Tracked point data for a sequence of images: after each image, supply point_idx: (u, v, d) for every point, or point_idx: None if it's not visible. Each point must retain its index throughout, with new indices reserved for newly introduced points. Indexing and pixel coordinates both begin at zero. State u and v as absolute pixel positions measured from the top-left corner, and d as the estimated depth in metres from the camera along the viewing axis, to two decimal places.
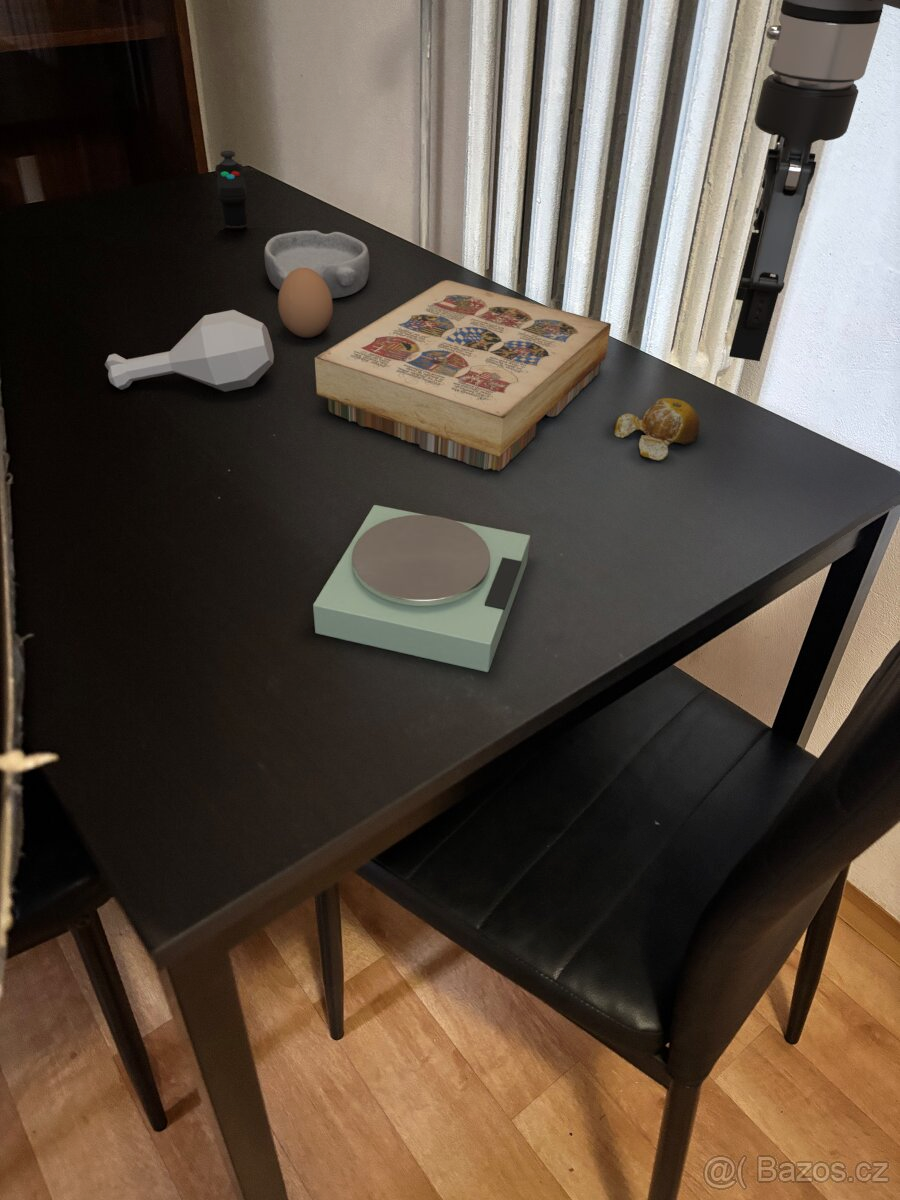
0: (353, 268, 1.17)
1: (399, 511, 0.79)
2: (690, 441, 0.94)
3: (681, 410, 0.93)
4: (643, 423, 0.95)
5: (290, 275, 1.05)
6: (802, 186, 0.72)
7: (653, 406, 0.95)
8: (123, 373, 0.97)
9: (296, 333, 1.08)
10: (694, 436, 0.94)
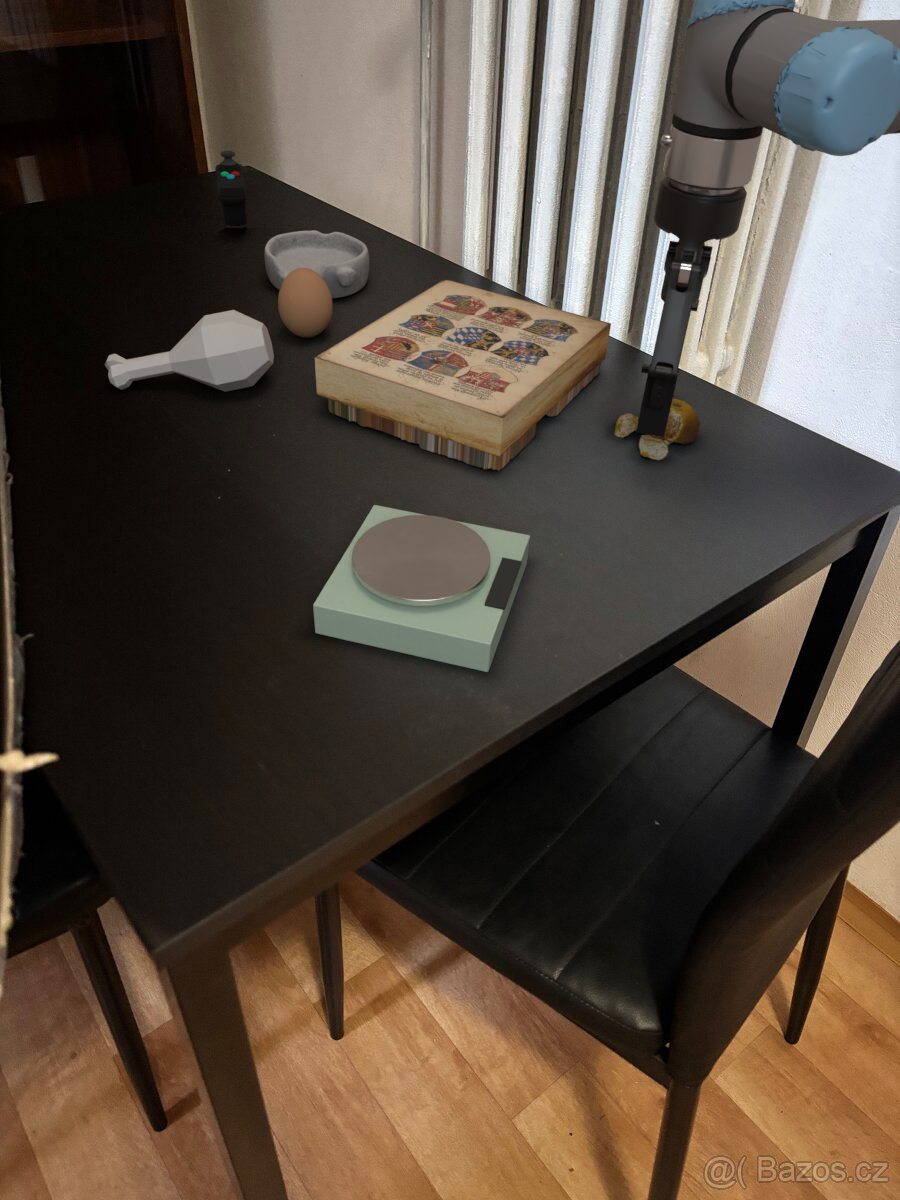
0: (353, 268, 1.17)
1: (399, 511, 0.79)
2: (690, 441, 0.94)
3: (681, 410, 0.93)
4: None
5: (290, 275, 1.05)
6: (693, 284, 0.78)
7: None
8: (123, 373, 0.97)
9: (296, 333, 1.08)
10: (694, 436, 0.94)
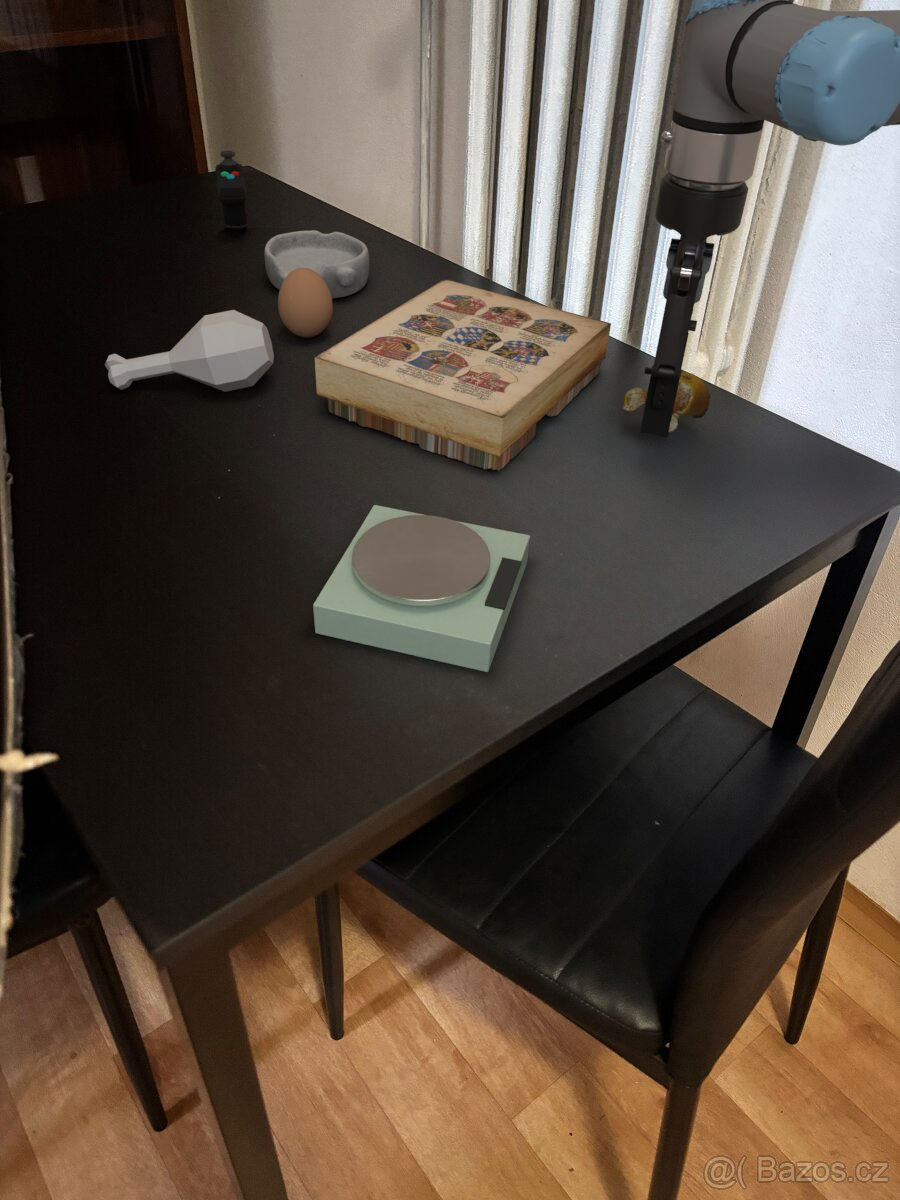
0: (353, 268, 1.17)
1: (399, 511, 0.79)
2: (700, 414, 0.92)
3: (691, 382, 0.91)
4: None
5: (290, 275, 1.05)
6: (693, 289, 0.78)
7: None
8: (123, 373, 0.97)
9: (296, 333, 1.08)
10: (704, 409, 0.92)
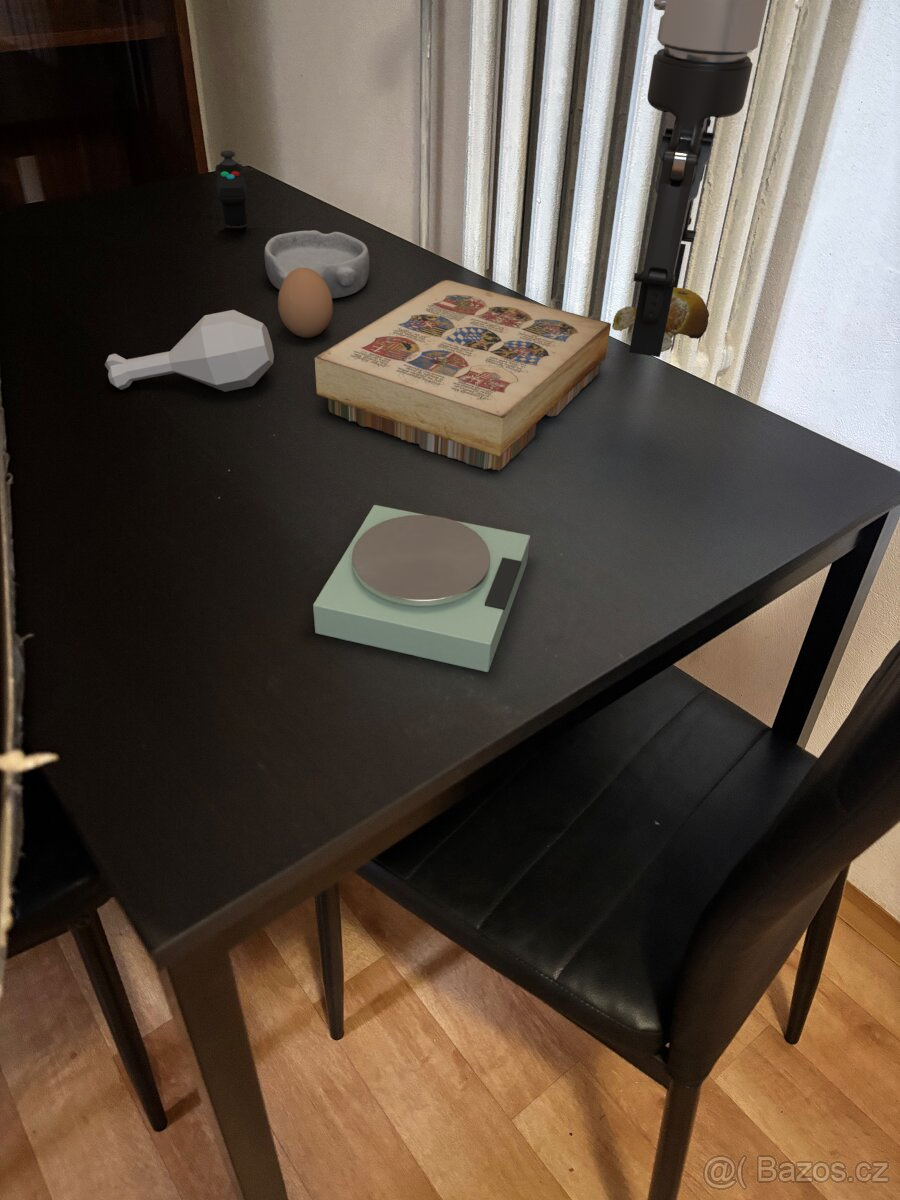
0: (353, 268, 1.17)
1: (399, 511, 0.79)
2: (697, 334, 0.83)
3: (688, 297, 0.82)
4: None
5: (290, 275, 1.05)
6: (688, 178, 0.69)
7: None
8: (123, 373, 0.97)
9: (296, 333, 1.08)
10: (702, 329, 0.83)
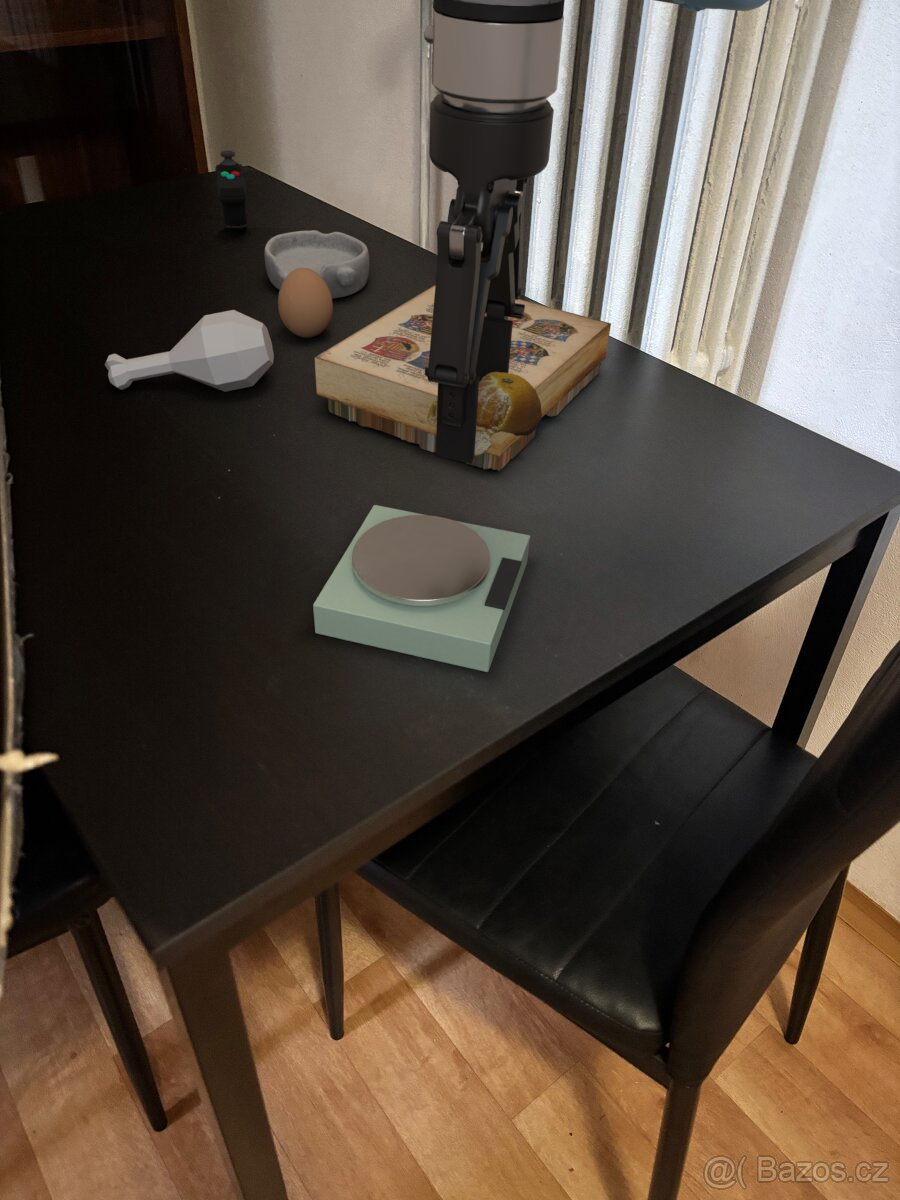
0: (353, 268, 1.17)
1: (399, 511, 0.79)
2: (525, 431, 0.68)
3: (511, 388, 0.67)
4: None
5: (290, 275, 1.05)
6: (471, 257, 0.54)
7: (479, 383, 0.70)
8: (123, 373, 0.97)
9: (296, 333, 1.08)
10: (531, 424, 0.68)
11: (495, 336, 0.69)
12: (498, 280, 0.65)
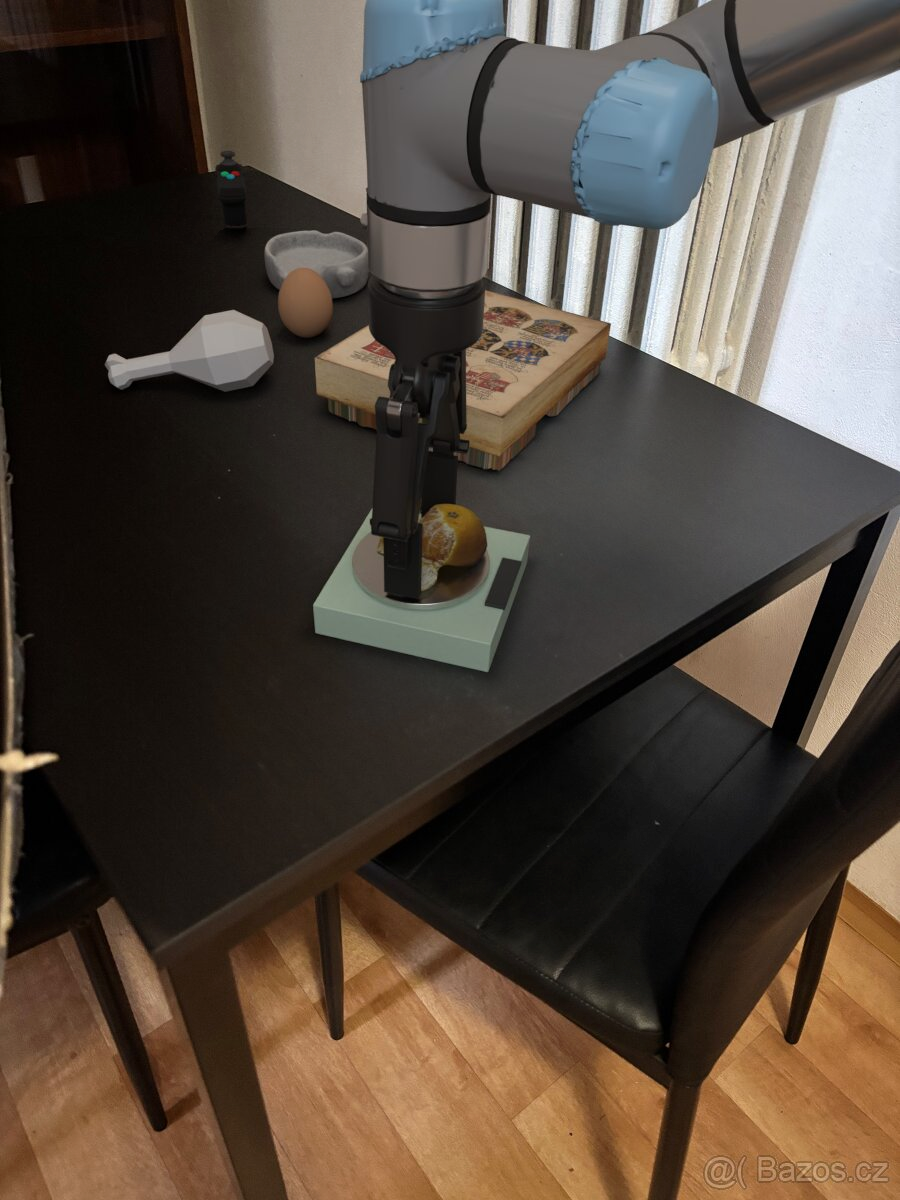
0: (353, 268, 1.17)
1: None
2: (470, 562, 0.71)
3: (456, 523, 0.70)
4: None
5: (290, 275, 1.05)
6: (407, 430, 0.57)
7: (426, 514, 0.72)
8: (123, 373, 0.97)
9: (296, 333, 1.08)
10: (476, 556, 0.71)
11: (441, 470, 0.72)
12: (441, 423, 0.68)
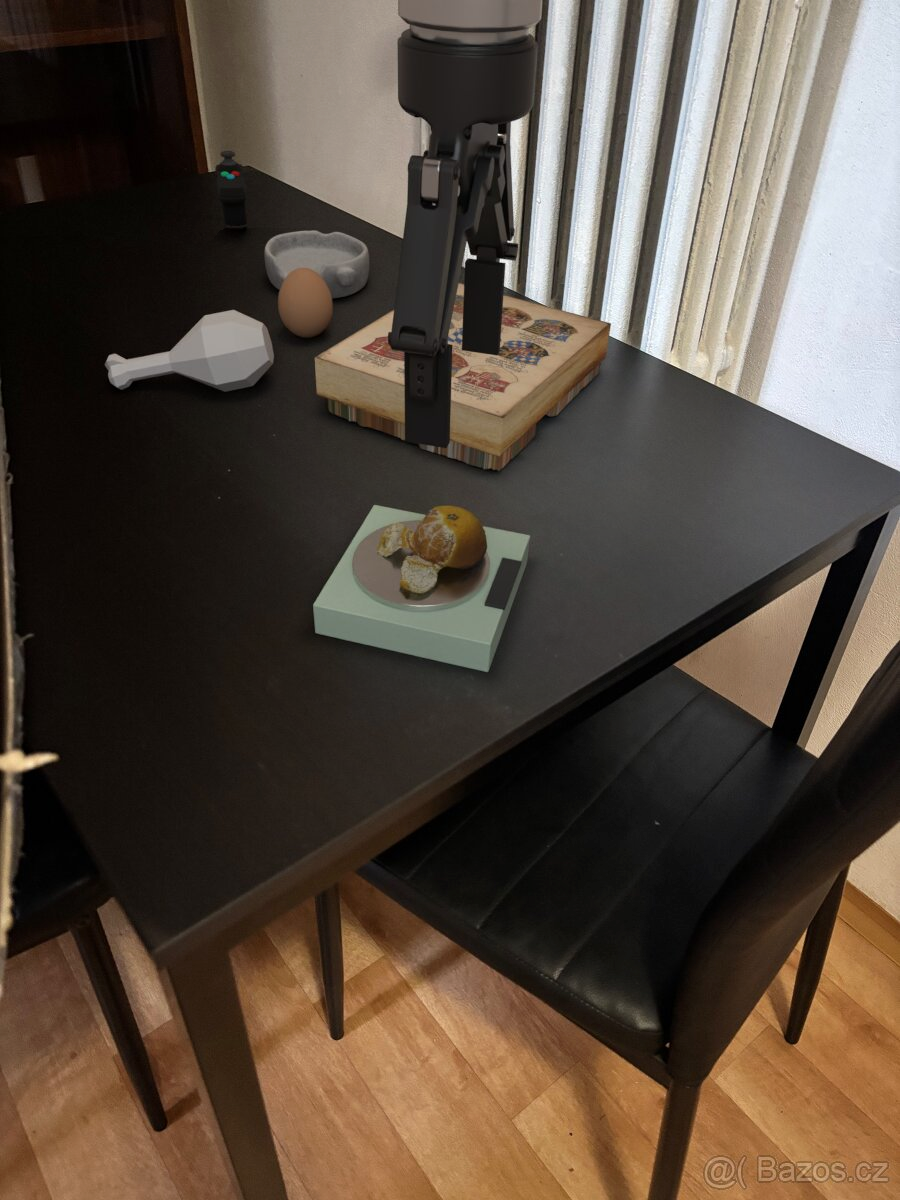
0: (353, 268, 1.17)
1: (399, 511, 0.79)
2: (470, 564, 0.71)
3: (456, 525, 0.70)
4: (413, 538, 0.73)
5: (290, 275, 1.05)
6: (446, 195, 0.47)
7: (426, 516, 0.72)
8: (123, 373, 0.97)
9: (296, 333, 1.08)
10: (476, 558, 0.71)
11: (486, 280, 0.63)
12: (486, 227, 0.59)
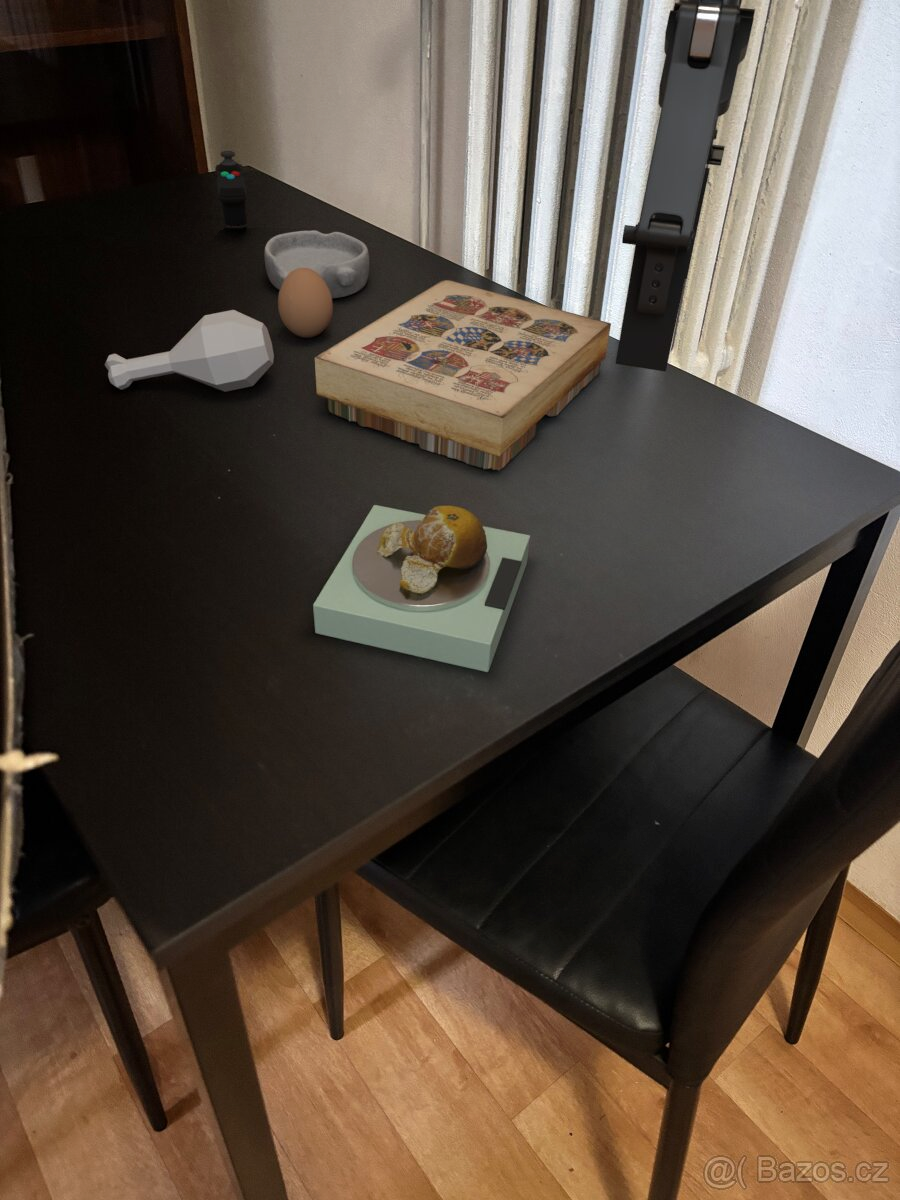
0: (353, 268, 1.17)
1: (399, 511, 0.79)
2: (470, 564, 0.71)
3: (456, 525, 0.70)
4: (413, 538, 0.73)
5: (290, 275, 1.05)
6: (722, 50, 0.39)
7: (426, 516, 0.72)
8: (123, 373, 0.97)
9: (296, 333, 1.08)
10: (476, 558, 0.71)
11: None
12: None
